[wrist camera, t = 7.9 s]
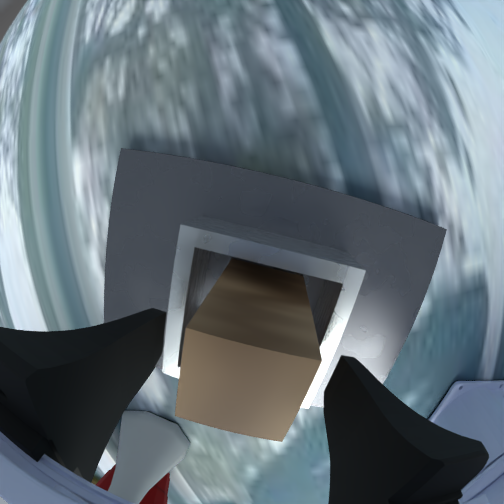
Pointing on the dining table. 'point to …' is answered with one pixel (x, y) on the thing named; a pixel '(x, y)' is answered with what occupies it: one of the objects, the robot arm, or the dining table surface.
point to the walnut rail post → (249, 353)
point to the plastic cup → (154, 498)
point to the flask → (145, 453)
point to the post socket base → (265, 254)
